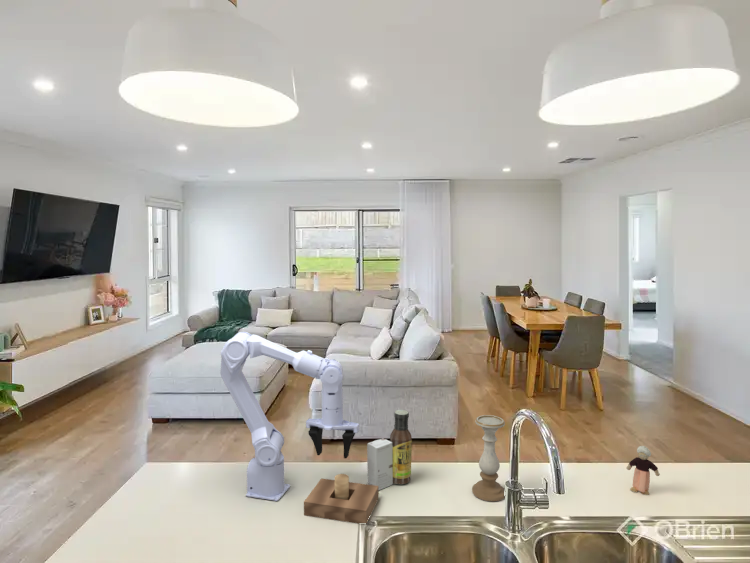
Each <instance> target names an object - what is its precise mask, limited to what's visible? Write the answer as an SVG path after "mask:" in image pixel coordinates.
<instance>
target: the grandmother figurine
mask: <svg viewBox="0 0 750 563" xmlns="http://www.w3.org/2000/svg"><path fill="white" fill-rule="evenodd" d="M636 452H637V457H635V458H633V459H631V461H629V462H628V464H627V466H626V470H628V471H630V470H631V469H632V468H633V467H634V472H633V477H632V486H631V487H630V489H629V491H631V492H633V493H638V492H640V494H642V495H643V496H644V495H645V496H650V492H649V490H650V481H651V473H650V470H652V472H654V474H655V476H657V477H659V476H660V475H661V474H660V472H659V469H658V466H657V465H656V464H654V462H652V461H650V460H649V457H651V455H652V452H651V450H650V449H649V448H648V447H647V446H645V445H640V446H637V449H636Z"/></svg>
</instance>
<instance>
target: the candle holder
mask: <svg viewBox="0 0 750 563" xmlns="http://www.w3.org/2000/svg"><path fill="white" fill-rule="evenodd" d="M474 421H475V424H476V425H477V426H478V427H480V428H481V429H482V430H483V432H484V435H483V436H482V438H481V439H482V440H483V442H484V444H483V452H482V454H481V455H480V458H479V461H478V467H479V469H480V470H481V471H480V472H479V477H481V479H480V480H478V481H477V482H476V483H475V484H473V485H472V488H471V490H472V491H471V492H472V494H473V496H474V497H476V498H478V499H479V500H481V501H485V502H499V501H502V500H504V499H505V497H504V489H505V488H504V487H503V486H502V484H500V483H499V482H498V481H497V479H498V478H499V474H498V471H499V470H500V461H499V458H498V456H497V453H496V442H497V441H498V438H497V437H496V432H497V431H498V430H499V429H502V428H504V426H505V425H506V424H505V423H506V422H505V420H504V419H503V418H502V417H499V416H497V415H493V414H492V415H491V414H483V415H478V416H476V418H475V420H474Z"/></svg>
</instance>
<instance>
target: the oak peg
mask: <svg viewBox="0 0 750 563" xmlns="http://www.w3.org/2000/svg"><path fill="white" fill-rule="evenodd" d="M334 480H335V498H336V499H343V500H349V482H350V478H349V475H348V474H346V473H338V474H336V475H335V476H334Z"/></svg>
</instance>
